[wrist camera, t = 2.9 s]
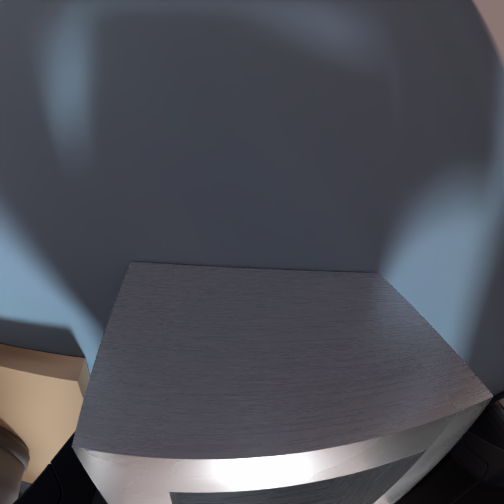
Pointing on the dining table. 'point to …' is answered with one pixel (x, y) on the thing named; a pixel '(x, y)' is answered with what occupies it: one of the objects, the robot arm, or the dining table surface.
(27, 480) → the shaft block
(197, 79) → the dining table surface
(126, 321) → the collar
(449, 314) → the dining table surface
